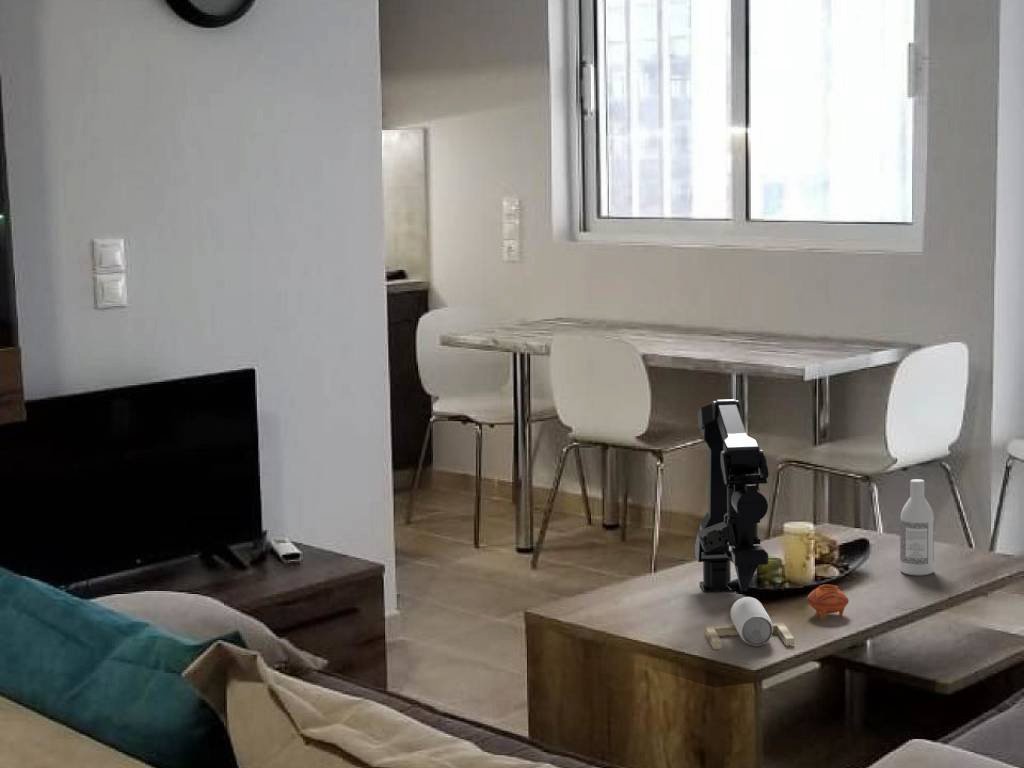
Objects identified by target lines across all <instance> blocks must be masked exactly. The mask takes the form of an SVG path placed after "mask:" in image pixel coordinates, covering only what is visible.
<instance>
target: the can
mask: <svg viewBox="0 0 1024 768" xmlns="http://www.w3.org/2000/svg"><path fill="white" fill-rule="evenodd" d="M730 618H731V619H730V620H731V622H732V623H733V625H735V627H736V629H737V631H738V633H739V635H738V636H739V637H740V639H741V640H742V641H743V642H745V643H746V644H748V645H750V646H753V647H760V646H764V645H765V644H767V643H768V642H769V641H770V639H771V638H772V636H773V634H772V633H773V624H774V623H773V622H772V619H771V618H770V616H769V613H767V611H766V608H764V606H763V604H762V602H760V600H758V599H757V598H755V597H752V596H744V597H740V598H739V599H737V600H736V601H735V602H734V603H733V605H732V606H731V608H730Z"/></svg>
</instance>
